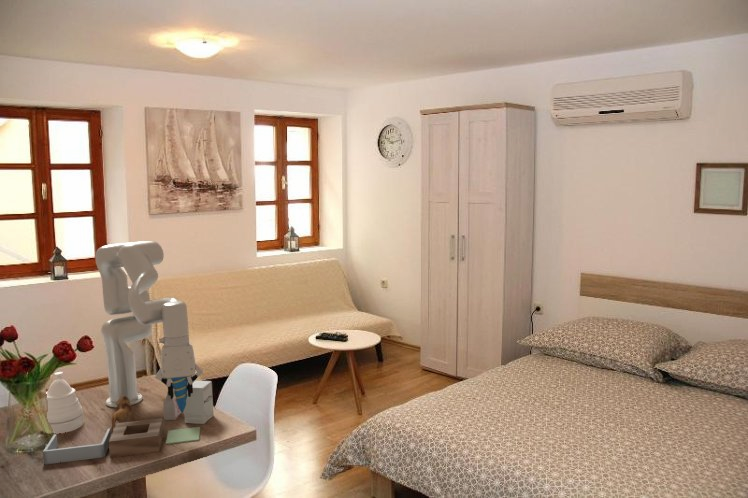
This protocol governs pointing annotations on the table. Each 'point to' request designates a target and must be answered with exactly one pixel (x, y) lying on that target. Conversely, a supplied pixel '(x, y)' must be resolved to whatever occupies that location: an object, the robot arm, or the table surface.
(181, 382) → the ornament
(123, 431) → the hole deck
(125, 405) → the lion figurine
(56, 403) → the honey pot
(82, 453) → the grey arch frame
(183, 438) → the mat
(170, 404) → the white printed carton
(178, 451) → the table surface
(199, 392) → the supplement box
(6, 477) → the table surface
